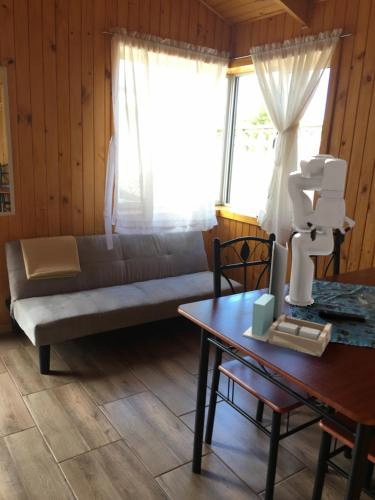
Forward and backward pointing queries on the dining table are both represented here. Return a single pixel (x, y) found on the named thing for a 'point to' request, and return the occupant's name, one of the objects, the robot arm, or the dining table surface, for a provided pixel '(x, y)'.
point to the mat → (262, 338)
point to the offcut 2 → (309, 333)
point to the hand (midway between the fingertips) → (326, 242)
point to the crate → (296, 341)
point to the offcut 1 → (288, 328)
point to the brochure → (278, 277)
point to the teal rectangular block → (262, 314)
